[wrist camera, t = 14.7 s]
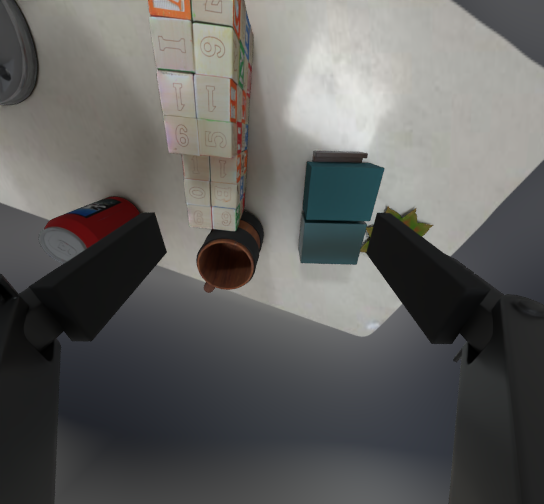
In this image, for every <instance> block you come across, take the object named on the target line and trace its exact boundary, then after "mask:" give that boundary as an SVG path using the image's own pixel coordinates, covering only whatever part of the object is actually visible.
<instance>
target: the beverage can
mask: <svg viewBox="0 0 544 504" xmlns="http://www.w3.org/2000/svg"><path fill="white" fill-rule="evenodd" d="M139 214H140V213H139V211H138V210H137V208H136V207H135V206H134V205H133V204H132V203H130V202H129V201H127V200H126V199H123V198H121V197H108V198H105V199H102V200H100V201H97V202H94V203H92V204H89V205H86V206H84V207H81V208H79V209H76V210H74V211H71V212H69V213H66V214H64V215H61V216H59V217H56V218H54V219H52V220H50V221H49V222H48V223H47V225H46V226H45V228H44V230H42V231H41V232H40V234H39V243H40V245H41V247H42V248H43V250H44V251H45V252H46V253H47V254H48V255H49V256H50V257H52V258H53V259H54V260H56V261H58V262H60V263H63V264H64V263H66V262H67V261H69V260H70V259H72V258H73V257H75V256H76V255H78V254H79V253H81V252H82V251H84V250H85V249H87V248H88V247H90V246H92V245H93V244H95V243H96V242H98V241H99V240H101V239H102V238H104V237H105V236H107V235H108V234H110V233H111V232H113V231H114V230H116V229H117V228H119V227H120V226H122V225H124V224H125V223H127V222H128V221H130V220H131V219H133V218H134V217H136V216H137V215H139Z"/></svg>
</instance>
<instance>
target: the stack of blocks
mask: <svg viewBox="0 0 544 504" xmlns="http://www.w3.org/2000/svg"><path fill="white" fill-rule="evenodd" d="M148 6H149V13H150V15H151V16H150V17H149V23H150V30H151V37H152V44H153V51H154V57H155V63H156V67H157V69H158V71H157V74H156V75H157V82H158V87H159V94H160V101H161V107H162V112H163V114H164V125H165V131H166V138H167V144H168V151H169V153H175V154H182V162H183V171H184V188H185V198H186V204H187V209H188V219H189V227H196V228H205V229H218V230H227V231H236V230H237V228H238V225H239V221H240V218H241V216H242V213H243V211H244V203H245V190H246V170H247V152H248V150H247V141H248V118H249V99H250V90H251V71H252V55H253V32H252V29H251V25H250V23H249V19H248V16H247V11H246V6H245V1H244V0H148Z"/></svg>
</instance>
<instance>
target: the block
mask: <svg viewBox="0 0 544 504" xmlns="http://www.w3.org/2000/svg"><path fill="white" fill-rule="evenodd" d="M383 172H384V168H382V167H380V166H377V165H374V164H371V163H354V162H307V166H306V177H305V188H304V199H303V211H304V214H305V217H306V220H345V221H370V220H371V216H372V212H373V209H374V205H375V201H376V198H377V194H378V190H379V186H380V183H381V179H382V175H383Z"/></svg>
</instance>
